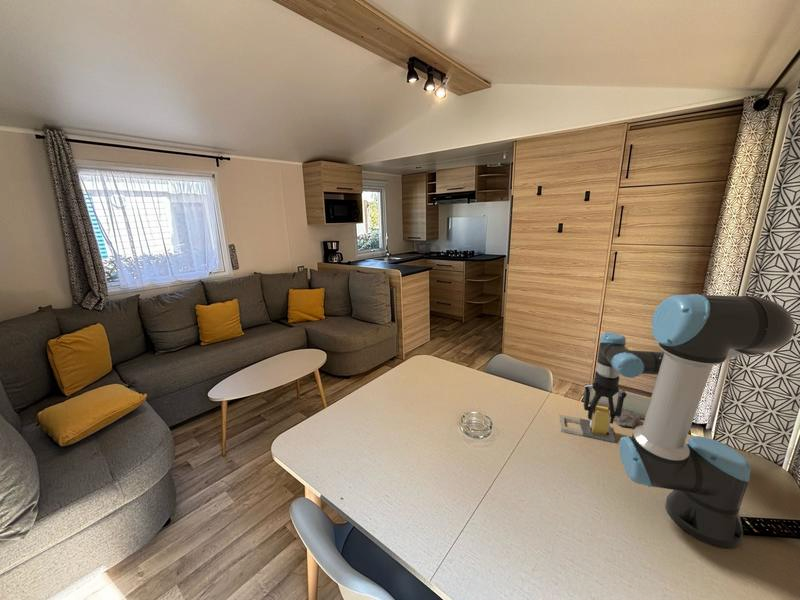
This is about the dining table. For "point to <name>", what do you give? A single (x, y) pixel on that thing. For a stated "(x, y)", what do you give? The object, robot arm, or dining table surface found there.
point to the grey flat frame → (584, 429)
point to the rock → (627, 418)
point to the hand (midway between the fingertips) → (598, 427)
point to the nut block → (601, 420)
